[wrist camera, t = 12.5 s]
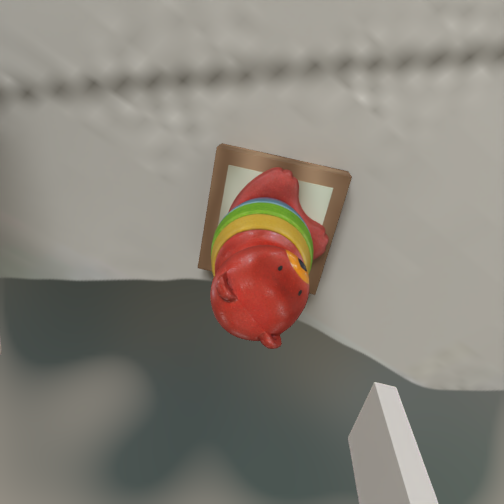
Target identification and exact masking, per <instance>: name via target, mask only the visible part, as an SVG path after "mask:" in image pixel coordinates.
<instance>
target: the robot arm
mask: <svg viewBox="0 0 504 504" xmlns="http://www.w3.org/2000/svg"><path fill="white" fill-rule="evenodd" d="M0 355H1V338H0ZM348 441H349V446H350V452H351V458H352V463H353V469H354V475H355V481H356V487H357V493H358V498H359V504H438V501H437V499H436V496H435V493H434V490H433V487H432V485H431V482H430V479H429V477H428V474H427V471H426V468H425V465H424V463H423V460H422V457H421V454H420V452H419V449H418V446H417V443H416V441H415V438H414V435H413V433H412V430H411V427H410V424H409V421H408V419H407V416H406V413H405V410H404V408H403V405H402V402H401V399H400V397H399V394H398V391H397V388H396V387H393V386H389V385H385V384H381V383H376V382H374V384H373V386H372V388H371V390H370V392H369V394H368V397H367V399H366V401H365V403H364V405H363V407H362V409H361V411H360V413H359V416H358V418H357V420H356V422H355V424H354V426H353V428H352V431H351V433H350V435H349V437H348Z"/></svg>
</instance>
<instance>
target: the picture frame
mask: <svg viewBox="0 0 504 504" xmlns="http://www.w3.org/2000/svg"><path fill="white" fill-rule="evenodd" d="M275 167H280V168H282V169H284V170H290V171H292V173H293V176H294V177H295V178H296V179H297V180H298V182H299V202H300V205H301V207H302V209H303V211H304V212H305V213H306V215H307V216H308V217H310V218H311V219H312V220H314V221H316V222H318V223H320V224H321V225H322V226H323V227H324V228H325V230H326V231H325V233H326V234H327V236H328V238H329V241H328V243H327V245H326V250H325V252H324V253H323V254H322V255H321V256H319V257H318V258H316V259H314V260H313V262H312V266H311V270H310V273H309V285H310V286H309V293H310V294H314V295H315V294H316V290H317V287H318V284H319V281H320V278H321V274H322V271H323V268H324V265H325V261H326V258H327V255H328V252H329V249H330V245H331V242H332V239H333V236H334V233H335V229H336V226H337V223H338V220H339V217H340V213H341V210H342V207H343V204H344V201H345V197H346V194H347V191H348V188H349V185H350V181H351V178H352V177H351V175H350V174H349V172H348V171H344V170H339V169H335V168H330V167H326V166H321V165H317V164H312V163H308V162H303V161H299V160H294V159H290V158H285V157H281V156H277V155H272V154H268V153H263V152H259V151H254V150H250V149H245V148H241V147H236V146H232V145H227V144H223V143H222V144H220V145H219V146H218V147H217V150H216V156H215V162H214V168H213V175H212V181H211V187H210V194H209V200H208V206H207V212H206V219H205V225H204V231H203V238H202V244H201V250H200V257H199V263H198V268H200V269H204V270H209V271H212V266H211V246H212V241H213V237H214V234H215V231H216V229H217V227H218V225H219V224H220V222H221V221H222V219H223V218H224V217H225V216H226V215H227V214H228V212H229V209H230V207H231V205H232V203H233V201H234V200H235V198H236V197H237V195H238V194H239V193H240V191H241V190H242V189H243V188H244V187H245V186H246V185H247V184H248V183H249V182H250V181H252V180H253V179H254V178H255V177H257V176H258V175H260V174H262V173H263V172H265V171H267V170H269V169H271V168H275Z"/></svg>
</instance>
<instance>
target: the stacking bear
mask: <svg viewBox="0 0 504 504" xmlns="http://www.w3.org/2000/svg"><path fill="white" fill-rule="evenodd" d="M325 231H326V230H325V228H324V227H323V226H322V225H321V224H320V223H318V222H316V221H314V220H312V219H311V218H310V217H308V216H307V215H306V213H305V212H304V211H303V209H302V207H301V205H300V202H299V182H298V180H297V179H296V178H295V177H294V176H293V173H292V171H290V170H284V169H282V168H280V167H275V168H271V169H269V170H267V171H265V172H263V173H262V174H260V175H258V176H257V177H255V178H254V179H253V180H252V181H250V182H249V183H248V184H247V185H246V186H245V187H244V188H243V189H242V190H241V191H240V193H239V194H238V195H237V197H236V198H235V200H234V201H233V203H232V205H231V207H230V209H229V212H228V214H227V215H226V216H225V217H224V218H223V219H222V221H221V222H220V224H219V225H218V227H217V229H216V231H215V234H214V237H213V241H212V246H211V266H212V273H213V277H214V279H213V282H212V285H211V304H212V309H213V312H214V315H215V317H216V319H217V320H218V322H219V323H220V325H221V326H222V327H223V328H224V329H225V330H226V331H227V332H229V333H230V334H232V335H234V336H236V337H239V338H241V339H245V340H253V341H261V343H262V344H263V345H264V346H266V347H267V348H270V349H274V348H278V347H280V345H281V344H282V343H281V338H280V334H281V333H282V332H284V331H285V330H287V329H288V328H289V327H291V325H292V324H293V323H294V322H295V321H296V320H297V319H298V317H299V316H300V314H301V313H302V311H303V309H304V307H305V305H306V302H307V299H308V295H309V286H310V285H309V273H310V270H311V266H312V262H313V260H314V259H316V258H318V257H319V256H321V255H322V254H323V253H324V252H325V250H326V245H327V243H328V241H329V238H328V236H327V234H326V233H325Z"/></svg>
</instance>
